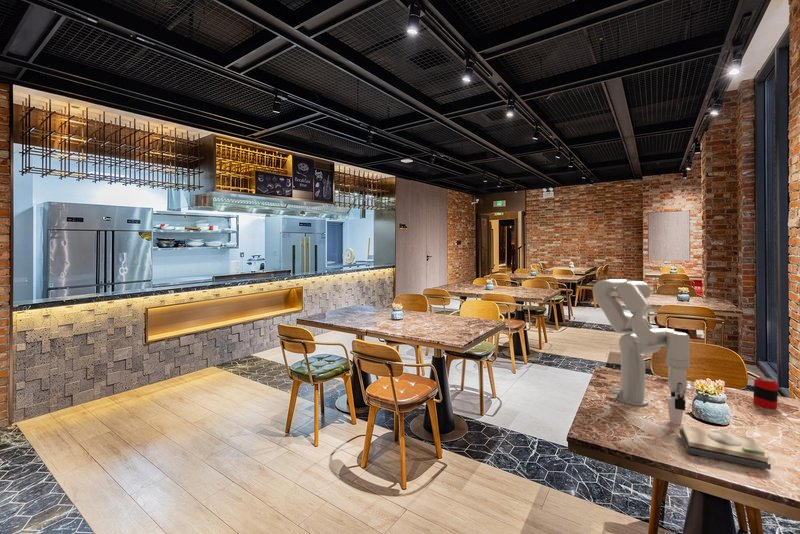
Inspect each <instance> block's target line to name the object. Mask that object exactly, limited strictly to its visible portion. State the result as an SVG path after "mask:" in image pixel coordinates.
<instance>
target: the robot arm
mask: <svg viewBox="0 0 800 534" xmlns="http://www.w3.org/2000/svg"><path fill="white" fill-rule="evenodd" d="M651 293H652V289H651V287H650V285H649V284H648V283H646V282H645V281H641V280H635V279H634V280H632V279H626V278H625V279H624V278H621V279H620V278H615V279H614V278H613V279H602V280H599V281H597V282H595V283H594V284H593V287H592V295H593V298H594V300H595V303H597V305H598V306H599V307H600V309H601V311H602V312H603V313H604V316H606V318H607V321H608V322H609V324H610V326H611V327H612V328H613V330H614V332H616V333H618V334H623V335H621V336H620V338H619V339H618V347H619V351H620V387H619V388H611V387H609V392H608V393H611V394H612V395H616V396H615V397H616V400H618V402H621V403H624V404H625V405H629V406H636V407H644V406H648V405H649V400H648V399H647V398H646V397H645V391H646V390H645V387H646V386H645V385H646V384H645V383H646V363H645V360H644V358H643V356H642V355H644V354H645V355H646V354H655V353H658V352H659V351H660V350H661V348H662V347H665V349H666V358H665V359H666V364H665V365H666V366H667V367H668V373H667V374H668V375H667V387H668V389H669V390H670V396H674V397H676V399H675V409H679V410H684V411H685V410H686V404H685V401H686V395H685V394H687V370H688V369H690V364H691V363H690V360H691V359H690V356H691V355H690V354H691V353H690V351H691V350H690V349H691V348H690V346H691V345H690V344H691V343H690V340H691V337H690V335H689V334H688V333H686V332H682V331H676V330H674V329H671V328H668V327H667V328H665V327H662V328H661V327H660V328H653V326H652V325H651V323H650V322H649V320H648V319H647V318H646V317H645V316H646V315H647V314H649V313H650V312H651V310H652V308H653V307H652V305H651V303H650V302H649V301H648V299H647V298H649V297H650V296H651ZM613 297H619V298H620V299H621V300H622V302H623V303H624V305H625V306H626V308H627V309H628V311H629V312H627V311H626V310H625V309H624V307H623V306H622V304H621V303H620V302H619V301H617V300H616V299H615V298H613ZM677 394H678V395H677Z"/></svg>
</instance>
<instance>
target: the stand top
mask: <svg viewBox="0 0 800 534" xmlns="http://www.w3.org/2000/svg"><path fill="white" fill-rule="evenodd" d="M681 429H682V431H683V433H684V436H685V438H686V440H687V442H688V445H689V446H691V447H696V448H701V449H706V450H711V451H716V452H720V453H725V454H730V455H735V456H740V457H744V458H749V459H754V460H759V461H764V462H768V461H769V457H768V455H767V454H766V453H765V451H764V450H763V448H761V447H760V445H759V444H758V442H757V441H756V440H755V439H754V438H753V437H749V436H745V435H739V434H733V433H729V432H727V433H726V432H725V431H724V432H723V431H719V430H718V431H717V430H712V429H707V428H701V427H696V426H691V425H690V426H689V425H685V424H681Z"/></svg>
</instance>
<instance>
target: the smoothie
mask: <svg viewBox="0 0 800 534" xmlns="http://www.w3.org/2000/svg"><path fill="white" fill-rule="evenodd" d="M677 395H678V394H677ZM665 399H666V400H665V401H666V402H667V410H668V415H669V416H668V417H669V423H671V424H673V425H677V426H679V425H682V422H683V416H684V411H685V410H679V409H675V399H676V397H674V396H671V395H669V396H666V398H665ZM686 402H687V401H686V400H685V405H686V404H687V403H686Z"/></svg>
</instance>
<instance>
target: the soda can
mask: <svg viewBox="0 0 800 534" xmlns="http://www.w3.org/2000/svg"><path fill="white" fill-rule="evenodd" d="M778 388H779V384H778V382H777V381H776V380H775V379H773V378H769V377H763V376H758V377H756V378H755V379H754V381H753V401H752V402H753V404H754V405H755V406H758V407H760V408H763V409H769V410H770V409H771V410H774V409H778V394H779V393H778V392H779V391H778V390H779V389H778Z"/></svg>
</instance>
